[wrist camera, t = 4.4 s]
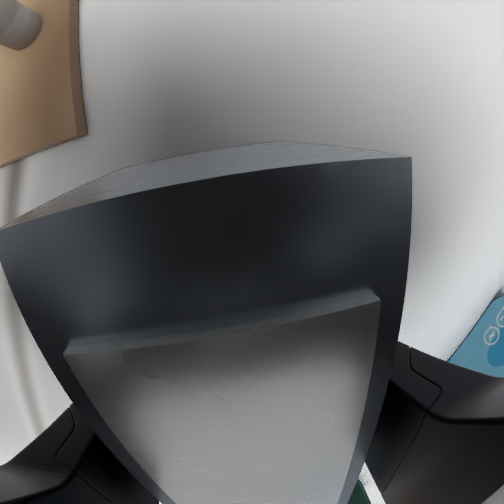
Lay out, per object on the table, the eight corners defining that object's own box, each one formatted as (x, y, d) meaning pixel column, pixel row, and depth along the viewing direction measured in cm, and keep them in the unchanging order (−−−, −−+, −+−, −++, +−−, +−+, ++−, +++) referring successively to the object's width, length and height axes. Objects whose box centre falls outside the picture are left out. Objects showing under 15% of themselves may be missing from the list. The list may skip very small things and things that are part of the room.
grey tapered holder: (195, 410, 12) (204, 540, 6) (122, 168, 8) (-16, 237, 2) (298, 392, 12) (345, 514, 6) (278, 141, 8) (419, 157, 3)
